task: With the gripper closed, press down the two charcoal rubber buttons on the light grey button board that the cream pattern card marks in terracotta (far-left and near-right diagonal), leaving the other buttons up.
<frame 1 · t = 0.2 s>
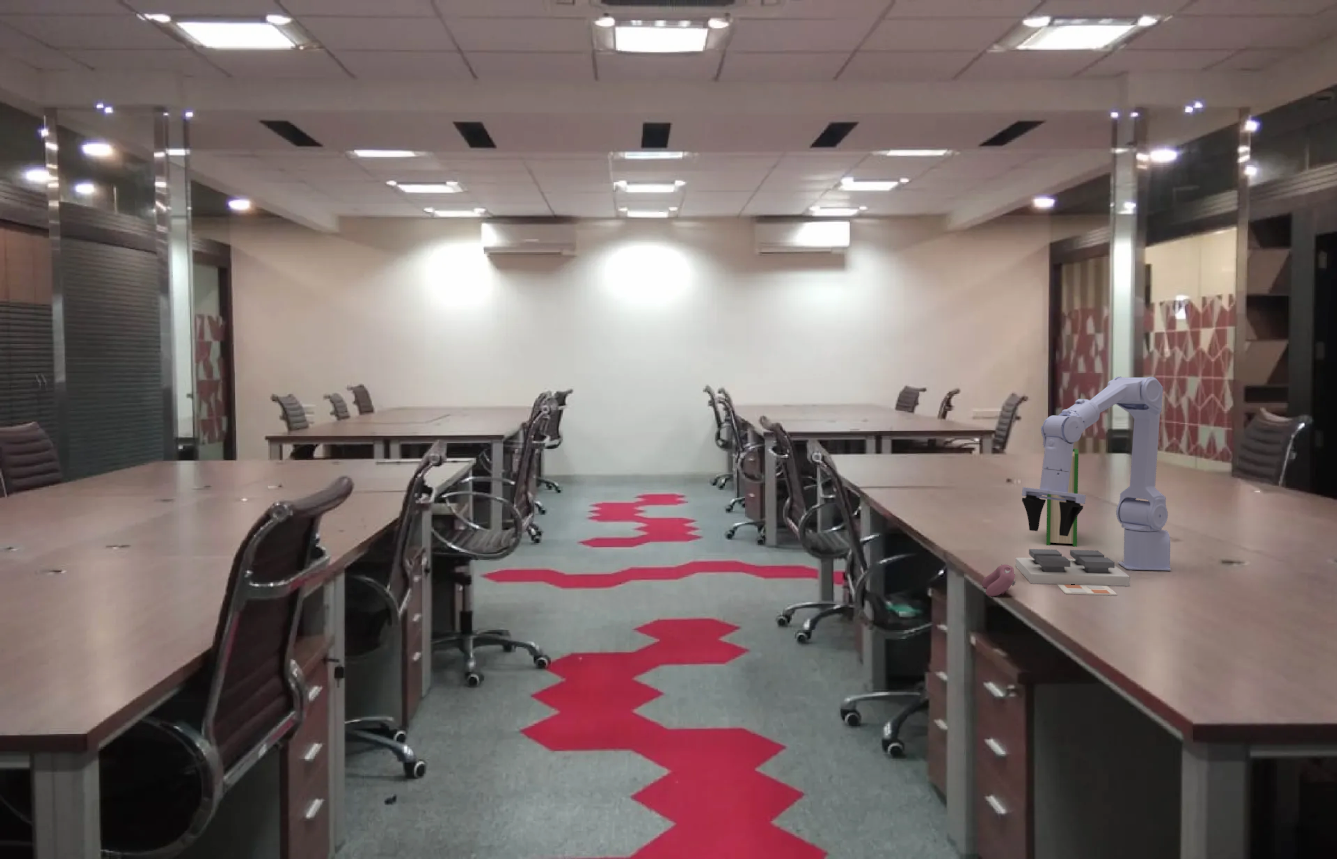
hand: (1048, 533, 228), 10 cm above the table, tool pointing down, fingers open, 7 cm apart
button a: (1086, 559, 238), point 3 cm above the table, slide at 0.0 cm
hardback book: (1061, 541, 282), on the table
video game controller: (998, 593, 218), on the table
button d: (1053, 565, 231), point 3 cm above the table, slide at 0.0 cm
pattern card: (1086, 590, 219), on the table
button board: (1069, 575, 235), on the table
button c: (1096, 566, 229), point 3 cm above the table, slide at 0.0 cm
button b: (1045, 558, 240), point 3 cm above the table, slide at 0.0 cm
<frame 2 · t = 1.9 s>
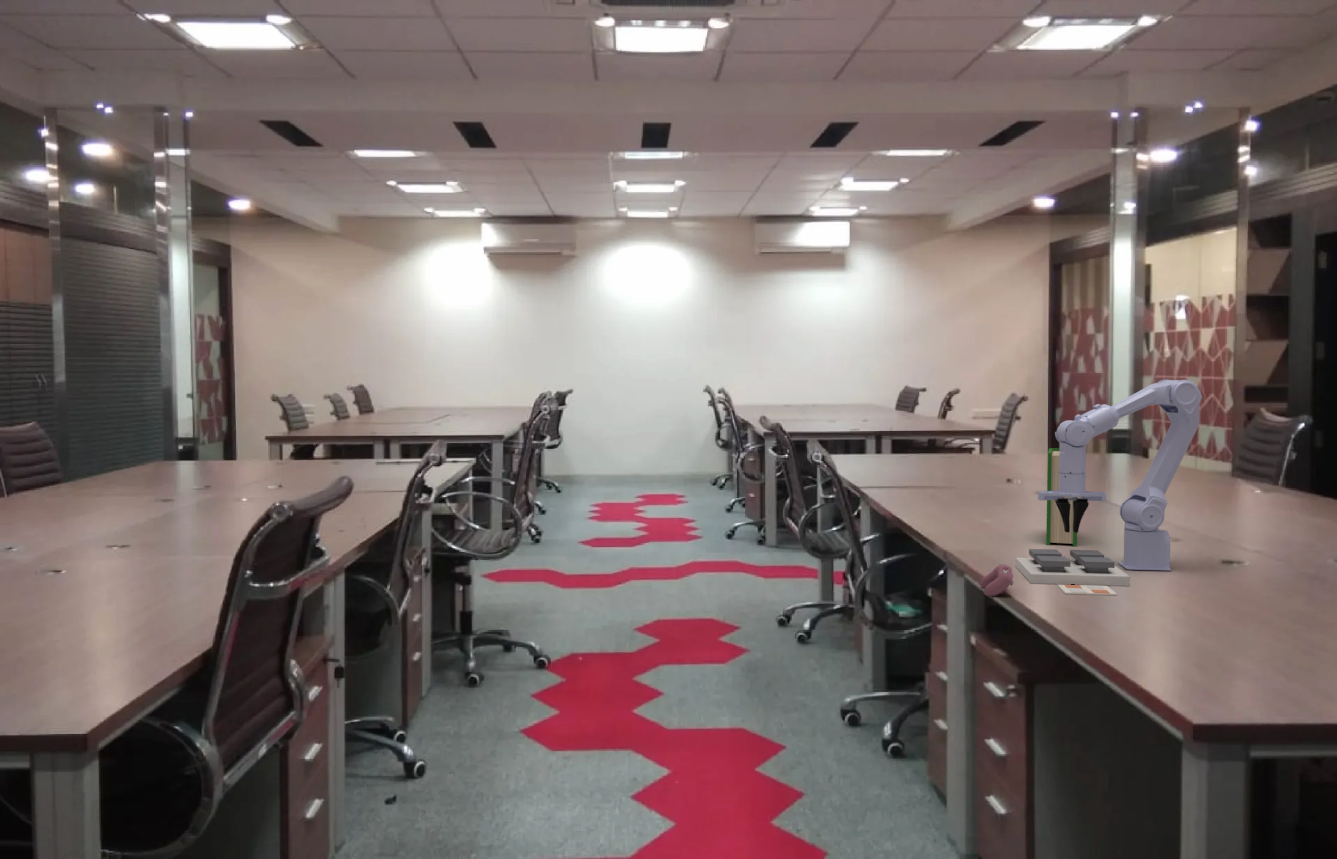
hand: (1071, 531, 243), 8 cm above the table, tool pointing down, fingers closed
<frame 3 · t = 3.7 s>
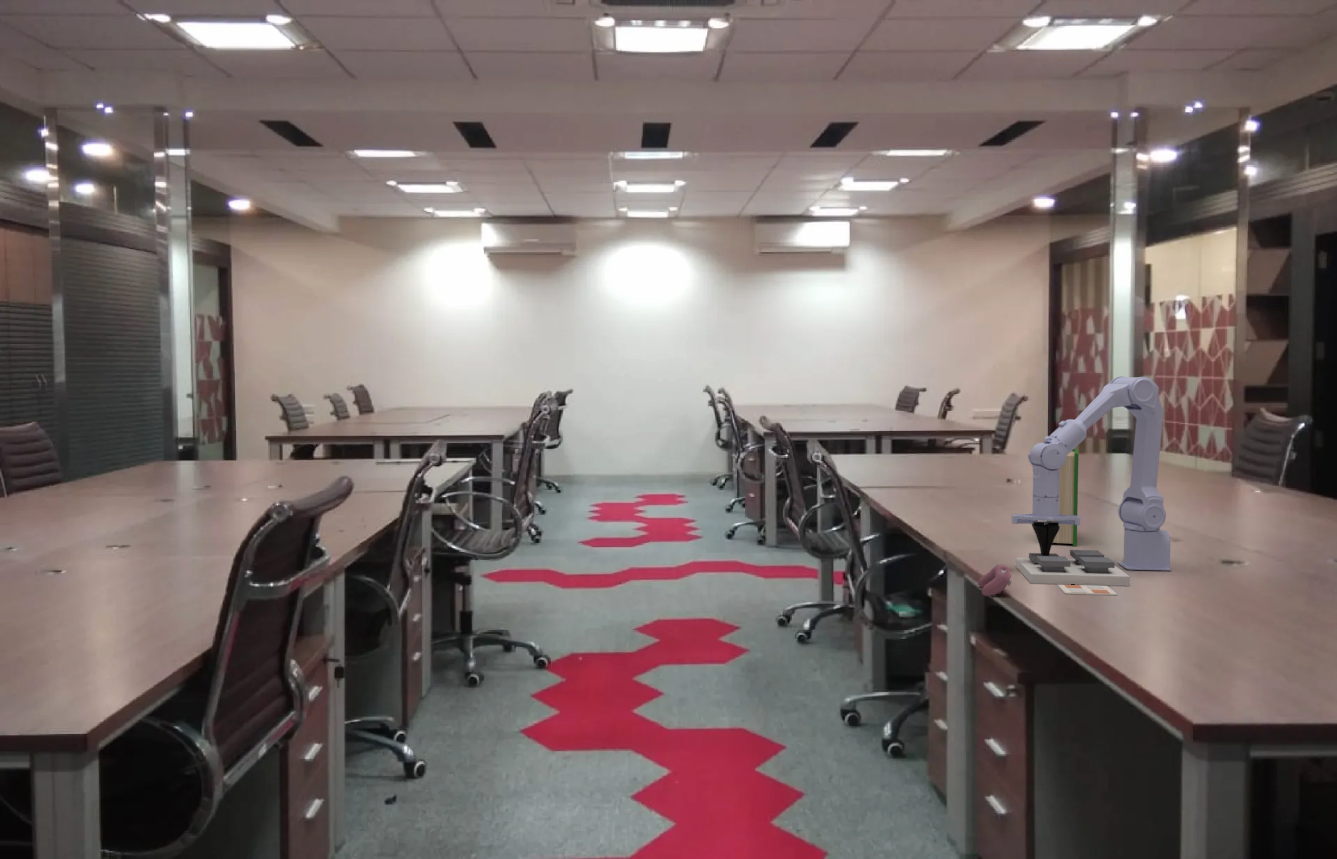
hand: (1045, 555, 240), 4 cm above the table, tool pointing down, fingers closed, pressing on button b
button b: (1045, 562, 240), point 2 cm above the table, slide at 0.9 cm, touching gripper
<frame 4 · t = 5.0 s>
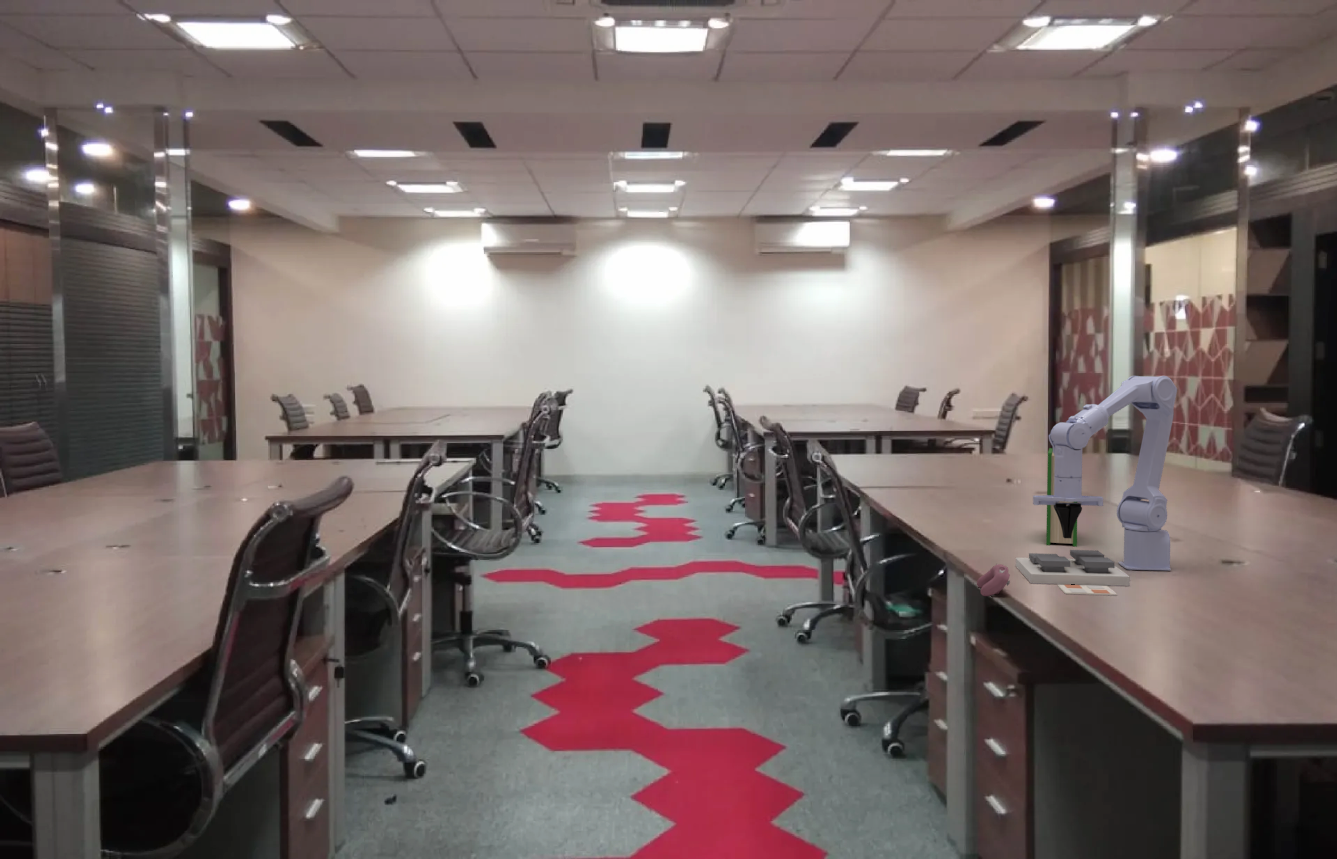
hand: (1067, 537, 235), 8 cm above the table, tool pointing down, fingers closed
button b: (1045, 562, 240), point 2 cm above the table, slide at 1.0 cm
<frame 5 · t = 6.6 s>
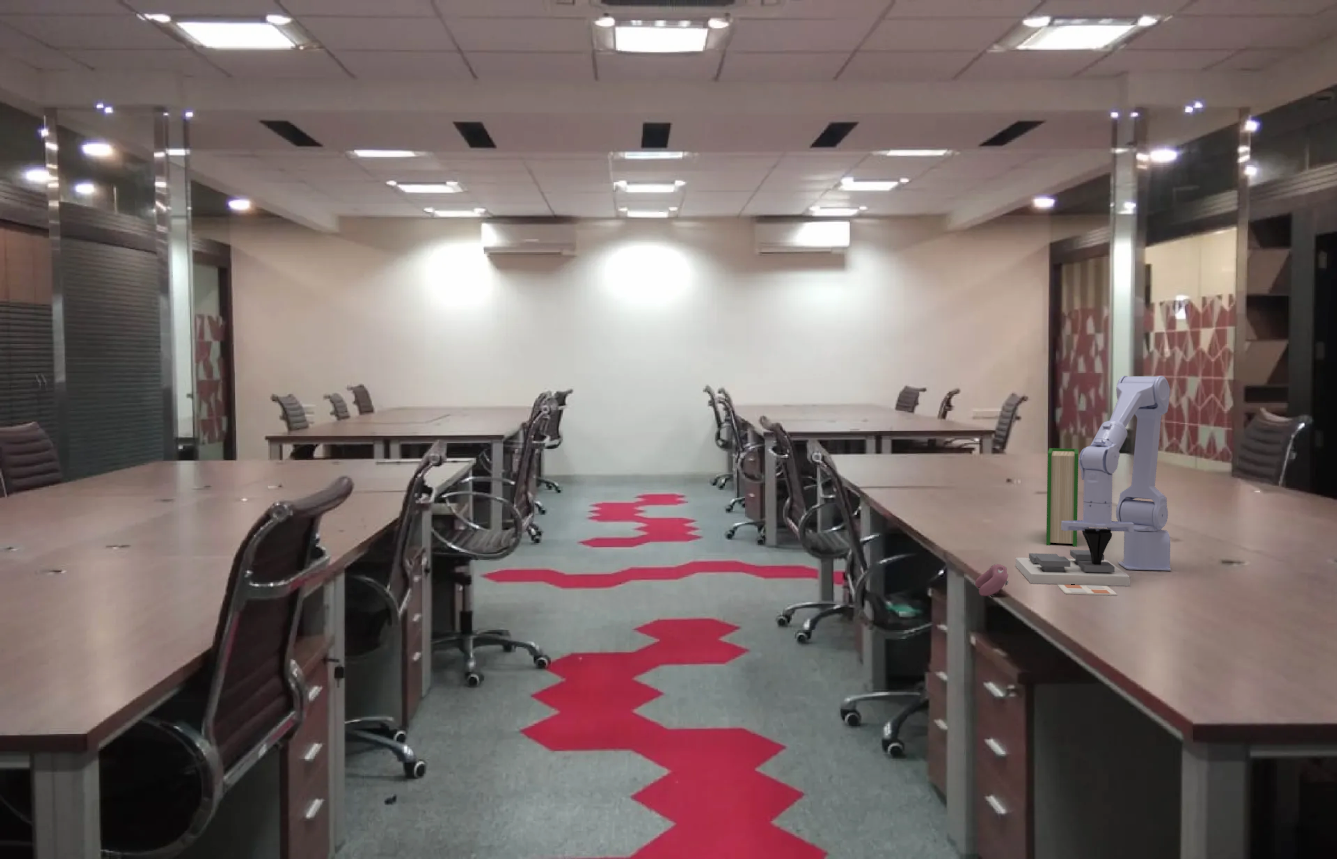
hand: (1096, 564, 229), 4 cm above the table, tool pointing down, fingers closed, pressing on button c
button c: (1096, 570, 229), point 2 cm above the table, slide at 0.9 cm, touching gripper
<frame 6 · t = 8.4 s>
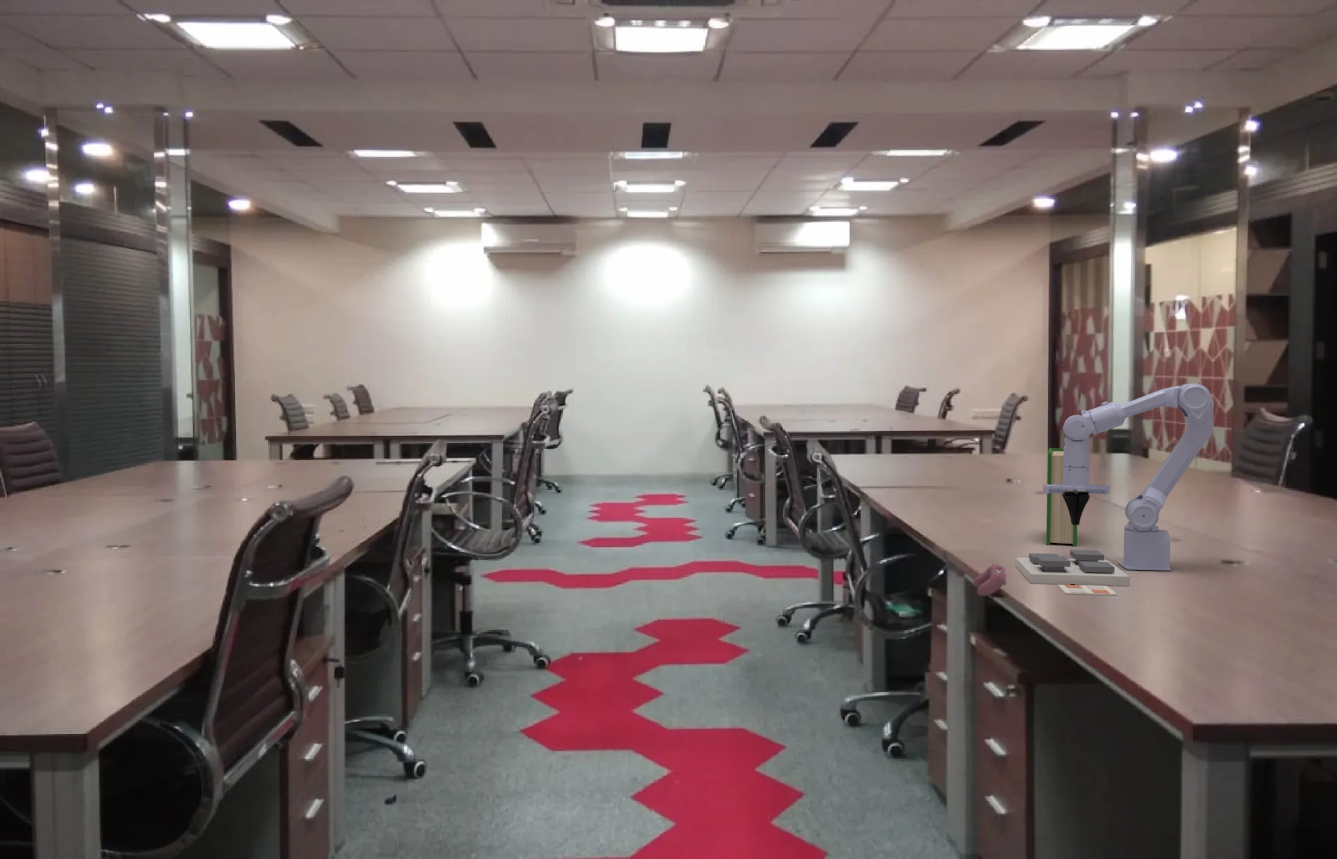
hand: (1075, 524, 248), 9 cm above the table, tool pointing down, fingers closed
button c: (1096, 571, 229), point 2 cm above the table, slide at 1.0 cm
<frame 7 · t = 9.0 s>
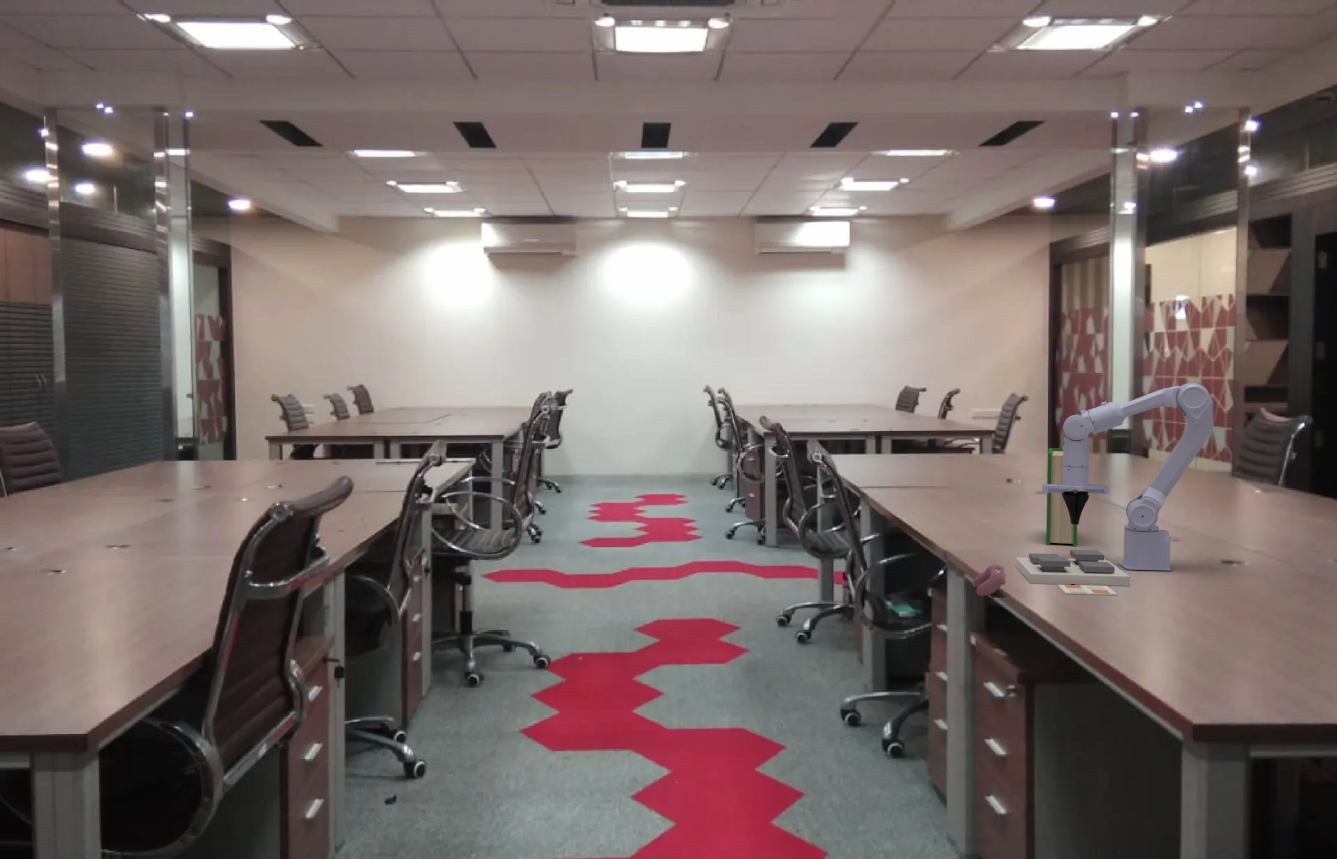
hand: (1074, 523, 248), 9 cm above the table, tool pointing down, fingers closed
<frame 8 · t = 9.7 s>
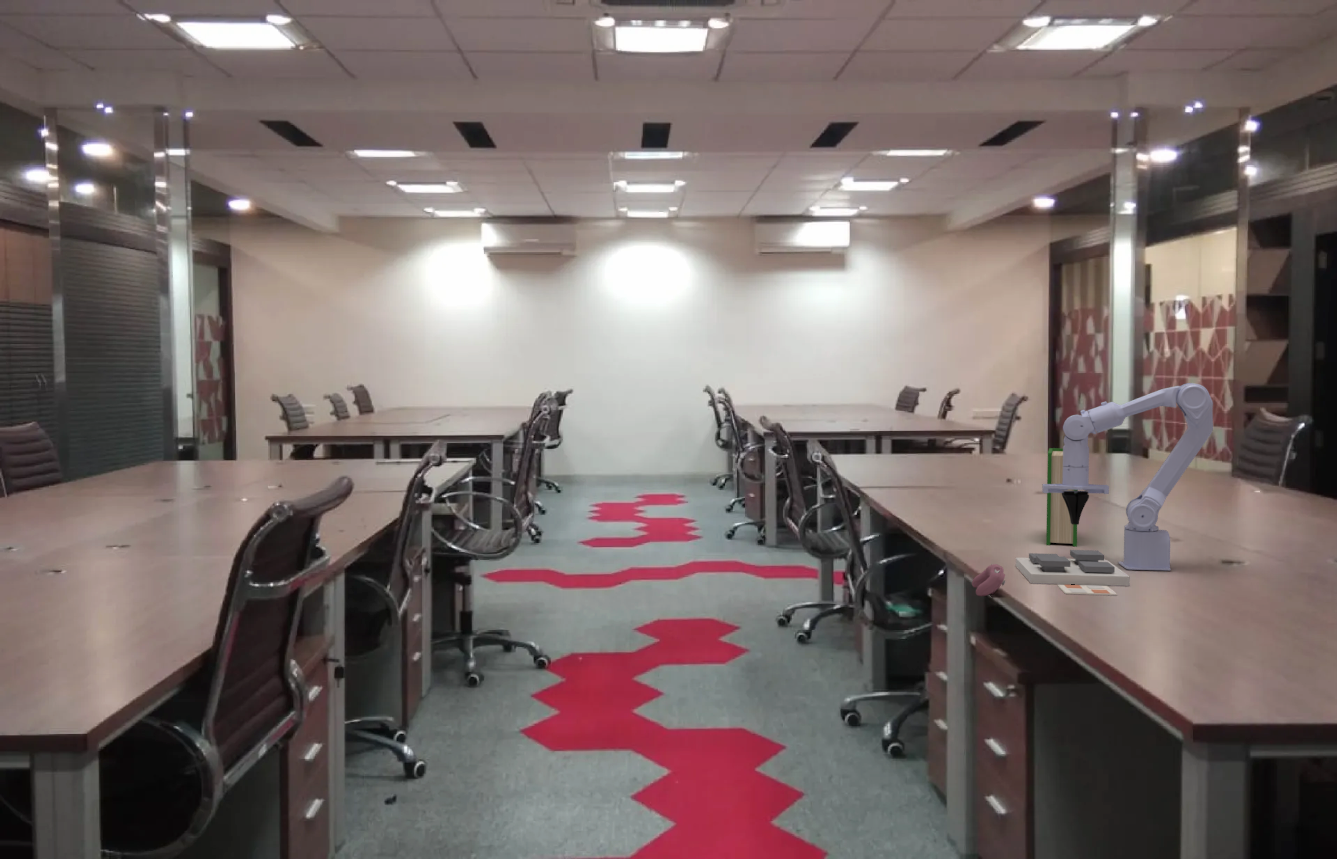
hand: (1074, 523, 248), 9 cm above the table, tool pointing down, fingers closed
at the end: button b slide at 1.0 cm; button c slide at 1.0 cm; button a slide at 0.0 cm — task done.
